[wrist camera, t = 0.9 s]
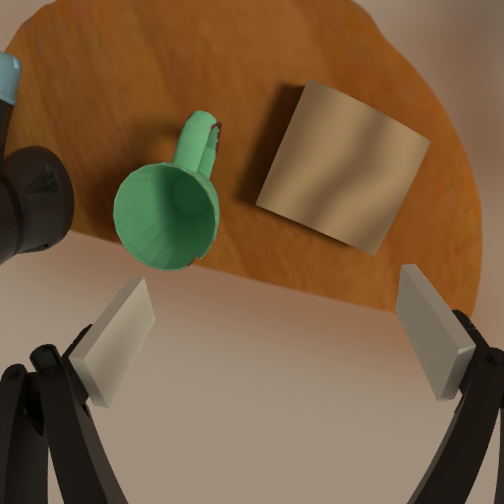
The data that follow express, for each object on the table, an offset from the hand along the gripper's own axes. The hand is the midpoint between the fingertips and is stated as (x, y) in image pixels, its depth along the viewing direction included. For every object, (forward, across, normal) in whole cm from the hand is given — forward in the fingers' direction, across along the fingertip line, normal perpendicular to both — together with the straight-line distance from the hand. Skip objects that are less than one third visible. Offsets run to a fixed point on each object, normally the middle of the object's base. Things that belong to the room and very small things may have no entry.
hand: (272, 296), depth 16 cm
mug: (+22, -8, +3) cm, 23 cm away
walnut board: (+21, +7, +3) cm, 22 cm away
